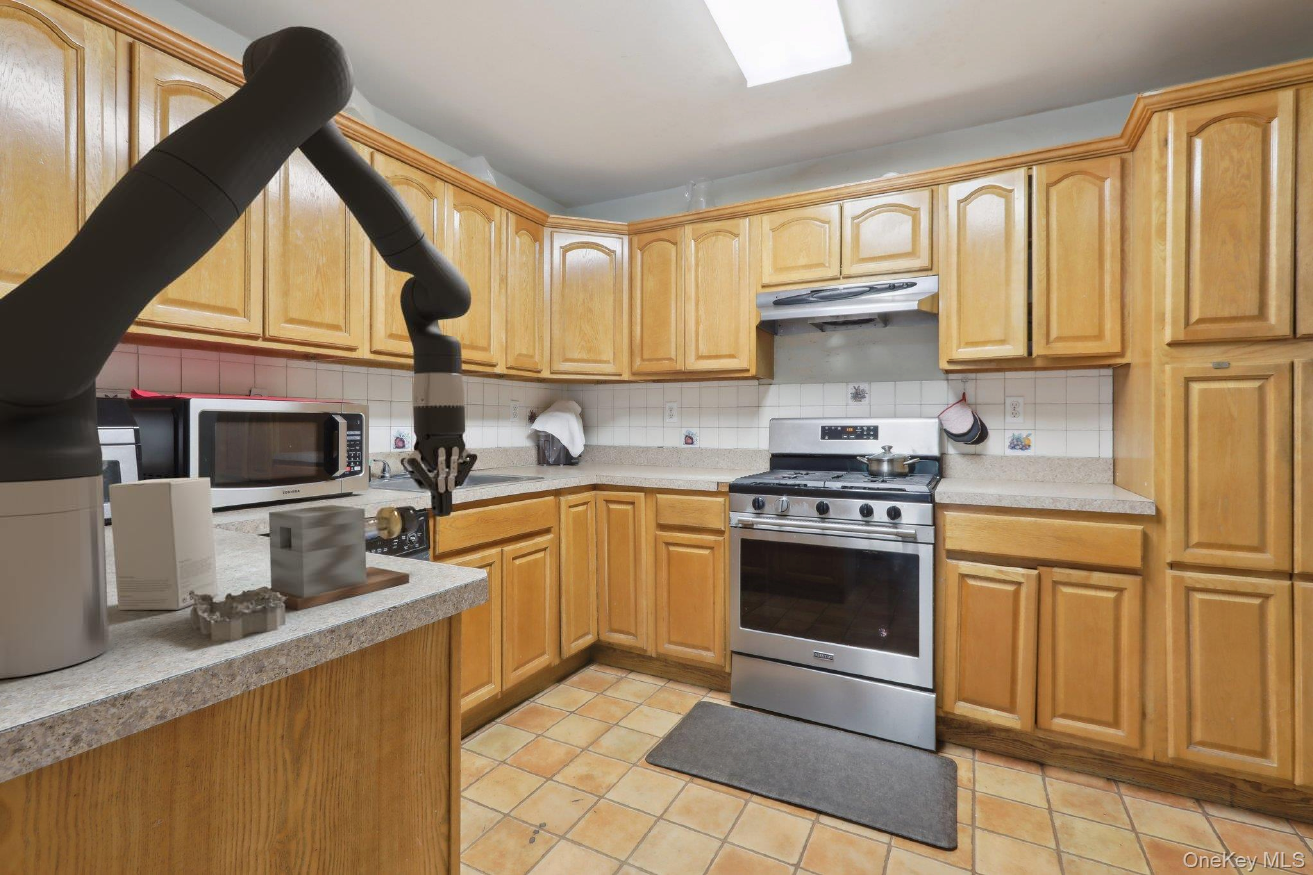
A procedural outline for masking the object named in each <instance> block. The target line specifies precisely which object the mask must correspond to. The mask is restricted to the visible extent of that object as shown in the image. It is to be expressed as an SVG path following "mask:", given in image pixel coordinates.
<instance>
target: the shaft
mask: <svg viewBox="0 0 1313 875" xmlns="http://www.w3.org/2000/svg"><path fill="white" fill-rule="evenodd" d="M376 512H377V513H376V516H375V517H370V518H365V535H366V534H372V533H378V535H379V537H380V538H382V539H384V540H387V539H392V538H396V537H398V536H402V535H406V534H412V533H415V532H416V531H417V530H418V528H419V524H420V516H419V513H418V511H417V509H416V508H415V507H414V506H412V505H405V506H397V507H394V506H387V507H381V508H380V509H378V510H377V511H376Z"/></svg>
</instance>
